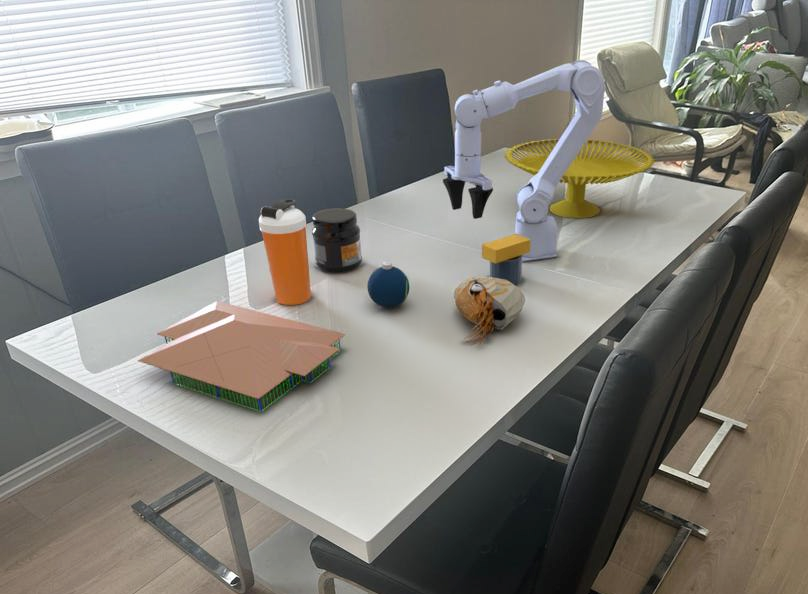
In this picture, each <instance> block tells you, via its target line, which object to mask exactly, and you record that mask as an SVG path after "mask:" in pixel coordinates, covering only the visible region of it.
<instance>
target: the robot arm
mask: <svg viewBox="0 0 808 594" xmlns="http://www.w3.org/2000/svg"><path fill="white" fill-rule="evenodd" d="M606 89H607V86H606V83H605V79H604V76H603V74H602V72H601V70H600V69H599V68H597V67H596V66H593V65H592V64H591V63H590V62H589V61H587V60H584V59H579V60H578V59H577V60H576V61H573V62H572V63H570V62H568V63H563V64H561V65H558V66H555V67H554V68H551V69H548V70H547V71H544V72H542V73H539V74H537V75H534V76H532V77H530V78H527V79H525V80H522V81H519V82H518V83H516V84H513V83H510V82H508V81H503V82H502V81H501V80H496V81H494V82H493V85H491V86H490V87H487V88H484V89H481V90H478V89H475V90H472V94H470V93H467V94H462V95H461V96H459V97H458V98H457V100H456V101H455V104H454V107H453V110H454V115H455V117H456V119H455V121H456V122H455V131H454V165H446V166H444V176H446V178H442V184H443V185H444V186H445V189H446V191H447V194H448V197H449V200H450V205H451V208H452V210H453V211H455V210H461V209H462V206H463V196H464V189H465V186H466V185H465V184H466V183H468V184H471V185H473V186H474V187H471V188H468V189H467V191H468V194H469V197H470V200H471V209H472V210H471V211H472V213H471V215H472V218H473V219H474V220H477V219H481V218H483V214H484V211H485V208H486V204H487V202H488V200H489V198H490V196H491V195H492V193H493V191H494V187H493V180H492V179H490V178H488V177H487V176H485V175H484V174H483V173H482V172H481V169H482V168H481V164H482V131H481V124H482V123H481V122H482V121H483V119H489V118H492V117H495V116H497V115H498V116H499V115H500V114H503V113H505V112H506V113H507V112H509V111H511V110H514V109H515V108H516V106H517V104H518V103H519V102H520V101H521V100H524V99H528V98H530V97H533V96H537V95H540V94H542V93H546V92H549V91H551V90H558V91H562V92H564V93H569V94H570V93H572V96H573V98H574V103H575V107H576V113H575V115H574V116H573V118H572V119H571V120H570V122H569V124H568V126H566V129H565V130H564V132H563V133H562V134H561V136H560V138H559V139H560V140H559V141H558V143H555V147H554V148H553V149H552V152H551V153H550V152H549V154H550V155H549V157H548V158H547V160H546V161H545V163H544V164H543V166H542V167H541V169H540V171H539V172H538V173H537V174H536V175H535V176H534V175H532V177H531V178H530V179H529V181H528V182H527V183H526V184H525V185H523V186H522V187H520V188H519V189H518V191H517V193H516V196H515V201H516V204H517V206H518V208H519V210H518V211H517V213H516V214H515V225H514V227H515V229H514V234H519V235H521V236H523V237H526V238H528V239H531V242H530V252H529V253H526V254H523V255H522V263H523V262H529V261H530V262H531V261H537V260H544V259H552V258H557V257H558V254H557V243H558V242H557V239H558V226H557V221H556V219H555V218H554V217H553V216H552V215H548V213H549V208H550V204H551V202H552V201H553V199H554V195H555V191H556V188H557V186H558V184H559V183H560V182H559V181H560V180H561V178H562V177H563V175H564V174H565V172H566V171H567V169H568V168H569V166H570V165H571V163H572V162H573V160H574V159H575V157H576V156H577V154H578V155H579V153H580V152H581V148H582V147H583V145H584V144H585V145H586V143H585V142H588V140H589V138H590V136H591V135H592V133H593V131H594V130H595V129H596V127H597V126H598V124H599V122H600V121H601V119H602V117H603V110H604V109H603V108H604V99H605V92H606ZM587 139H588V140H587Z"/></svg>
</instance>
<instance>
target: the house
mask: <svg viewBox="0 0 808 594" xmlns="http://www.w3.org/2000/svg"><path fill="white" fill-rule="evenodd" d="M156 335H157V336H161V337H163V338H164V341H165V344H164V345H163V346H160V347H159V348H156V349H155V350H153V351H151V352H150V353H148V354H146V355H144V356H143V357H141V358H139V359H137V362H139V363H142V364H145V365H149V366H152V367H154V368H158V369H162V370H165V371H168V372H169V373H170V376H171V380H172V384H174V385H177V386H180V387H183V388H186V389H189V390H191V391H192V390H193V391H195V392H199V393H202V394H204V395H207V396H211V397H213V398H217V399H220V400H223V401H226V402H229V403H232V404H236V405H238V406H241V407H244V408H248V409H251V410H254V411H257V412H263V411H264V410H266V409H267V408H269V406H271V405H272V404H274V403H275V402H276V401H277V400H279V399H280V398H281V397H283V396H284V395H285V394H286V393H288V392H289V391H290V390H292V389H293V388H294V387H296V386H297V385H298V384H299V383H301V382H302V381H303V382H306V383H310V384H311V383H313V381H315V380H316V379H318V378H319V377H320V376H321V375H322V374H324V373H325V372H327V371H328V370H329V369H331V361H330V360H331V359H332V358H334V357H335V356H336V355H338V353H339V354H340V352H341V351H342V350H341V349H342V348H341V340H340V339H342V338H343V337H345V336H346V333H343V332H339V331H336V330H332V329H328V328H323V327H320V326H316V325H312V324H309V323H304V322H301V321H297V320H294V319H289V318H284V317H281V316H277V315H273V314H269V313H265V312H262V311H261V312H260V311H258V310H254V309H250V308H246V307H242V306H238V305H234V304H231V303H226V302H223V301H219V300H216V301H214V302H212V303H210V304H209V305H207V306H205V307H203V308H201V309H199V310H197V311H196V312H194V313H192V314H191V315H189V316H186V317H184V318H183V319H181V320H179V321H178V322H175V323H174V324H172V325H169V326H168V327H166V328H164V329H163V330H160V331H159V332H157V333H156ZM320 368H321V373H320ZM323 368H324V370H323ZM317 369H318V370H317ZM317 371H318V373H317ZM314 372H315V377H314ZM293 374H294V375H293ZM311 374H312V378H311ZM317 374H318V375H317ZM307 375H308V379H309V381H308V380H307ZM297 376H298V380H299V381H298V380H297ZM303 377H305V379H303ZM294 378H295V383H296V384H295V383H294ZM191 379H192V380H191ZM181 380H182V381H181ZM184 380H185V381H186V382H185V381H184ZM195 380H196V381H195ZM188 381H189V382H188ZM198 381H199V382H198ZM178 382H179V383H178ZM192 382H193V386H194V388H193V386H192ZM182 383H183V385H182ZM185 383H186V384H185ZM189 383H190V386H189ZM206 384H207V385H206ZM186 385H187V386H186ZM196 385H197V387H196ZM199 385H200V386H199ZM285 385H286V389H287V390H286V389H285ZM203 386H204V388H203ZM278 386H279V387H278ZM200 387H201V390H200ZM207 387H208V390H209V392H208V391H207ZM282 387H283V393H282ZM274 388H275V389H274ZM197 389H198V390H197ZM204 389H205V392H204ZM223 389H224V390H223ZM211 390H212V393H211ZM278 390H279V391H280V396H279V391H278ZM271 391H272V392H271ZM220 392H221V394H220ZM223 392H224V393H223ZM275 392H276V394H277V398H276V396H275ZM235 393H236V394H235ZM268 393H269V394H268ZM238 394H240V395H238ZM227 395H229V399H230V400H228V396H227ZM231 395H232V397H233V401H232V397H231ZM242 395H243V396H242ZM272 395H273V399H274V401H273V400H272ZM224 396H225V398H224ZM235 396H236V398H237V402H236V399H235ZM246 396H247V397H246ZM264 396H265V397H264ZM239 397H240V400H241V403H240V400H239ZM250 398H251V399H250ZM261 398H262V399H261ZM268 398H270V404H269V399H268ZM243 399H244V402H245V405H244V402H243ZM247 400H248V403H249V406H248V403H247ZM265 400H266V403H267V406H266V404H265ZM251 401H252V405H253V407H252V405H251ZM261 402H263V407H264V408H263V409H262V405H261ZM255 405H256V407H255ZM258 407H259V408H258Z"/></svg>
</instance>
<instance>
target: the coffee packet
mask: <svg viewBox="0 0 808 594" xmlns="http://www.w3.org/2000/svg"><path fill="white" fill-rule="evenodd" d="M530 242H531V239H528V238H526V237H523V236H521V235H519V234H515V233H513V234H510V235H508V236H504V237H501V238H498V239H495V240H491V241H488V242H484V243H482V244H481V258H483V259H484V260H487V261H489V262H490V261H491V262H493V263H495V264H496V263H499V262H502V261H505V260H508V259H511V258H514V257H517V256H520V255H523V254H526V253H529V252H530Z"/></svg>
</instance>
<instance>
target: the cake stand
mask: <svg viewBox="0 0 808 594" xmlns="http://www.w3.org/2000/svg"><path fill="white" fill-rule="evenodd" d="M559 140H560V138H553V139H550V138H548V139H541V140H535V141H530V142H527V141H526V142H525V143H520V144H516V145H513V146H512V147H510V148H508V149H507V150H505V152H504V159H505V160H506V162H508V163H509V164H511V165H512V166H513V167H516V168H518V169H520V170H522V171H524V172H526V173H528V174H530V175H532V176H535V175H536V174H537V173H538V172H539V171H540V169H541V167H542V166H543V164H544V163H545V161H546V160H547V158H548V157H549V155H550V153H551V152H552V150H553V149H554V147H555V146H556V144H557V143H558V141H559ZM586 142H587V145H586ZM586 142H585V144H584V145H583V147H582V148H581V150H580V151H579V153H580V154H579V153H578V154H577V156H576V157H575V159H574V160H573V162H572V163H571V165H570V166H569V168H568V169H567V171H566V172H565V174H564V175H563V177H562V178H561V180H560V181H559V183H561V184H562V183H564V184H566V192H565V193H566V194H565V195H566V196H565V198H564V199H562V200H560V201H556V202H555V203H552V204H551V205H549V211H550V212H551V214H554V215H555V216H559V217H562V218H568V219H569V218H570V219H587V218H591V217H595V216H597V215H599V214H600V211H601V210H600V208H599V207H598V206H597V205H595V204H593V203H591V202H589V201H588V200H586V199H585V197H586V187H587V185H589V184H590V185H593V184H595V185H598V184H601V185H602V184H604V183H605V184H608V183H613V182H614V183H615V182H617V181H618V182H619V181H621V180H623V179H626V178H629V177H632V176H635V175H637V174H640V173H642V172H645V171H647V170H649V169H651V167H653V166H654V165H655V158H654V157H653V155H651V153H648V151H645V150H643V149H641V148H637V147H635V146H631V145H626V143H625V144H624V143H620V142H614V141H608V140H602V139H599V140H598V139H589V138H588V139H587V141H586ZM593 142H594V143H593ZM544 144H545V145H544ZM550 144H551V146H550ZM592 144H593V146H592ZM539 145H540V146H539ZM598 145H599V146H598ZM604 145H605V147H604ZM617 145H618V146H617ZM545 146H546V147H545ZM585 146H586V150H585ZM591 146H592V149H591ZM597 146H598V147H597ZM610 146H611V147H610ZM551 147H552V148H553V149H552V148H551ZM603 147H604V148H603ZM609 147H610V148H609ZM597 148H598V149H597ZM615 148H616V149H615ZM547 149H548V150H547ZM590 149H591V152H590ZM596 149H597V150H596ZM614 149H615V150H614ZM620 149H621V150H620ZM607 150H608V151H607ZM613 150H614V151H613ZM584 151H585V154H584ZM595 151H596V152H595ZM606 151H607V152H606ZM612 151H613V152H612ZM618 151H619V152H618ZM600 152H601V153H600ZM611 152H612V153H611ZM589 153H590V154H589ZM594 153H595V154H594ZM605 153H606V154H605Z"/></svg>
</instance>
